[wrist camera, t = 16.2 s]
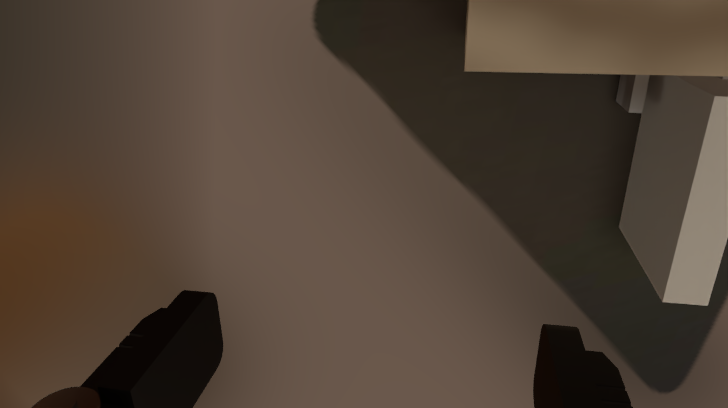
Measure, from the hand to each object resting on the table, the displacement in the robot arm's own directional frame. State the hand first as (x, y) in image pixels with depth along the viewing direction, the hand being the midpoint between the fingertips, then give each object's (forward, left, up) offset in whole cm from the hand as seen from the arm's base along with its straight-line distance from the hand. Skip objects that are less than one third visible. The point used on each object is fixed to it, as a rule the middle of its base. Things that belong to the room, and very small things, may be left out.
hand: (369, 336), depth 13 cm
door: (+4, +15, -28) cm, 32 cm away
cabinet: (-5, +10, -28) cm, 30 cm away
